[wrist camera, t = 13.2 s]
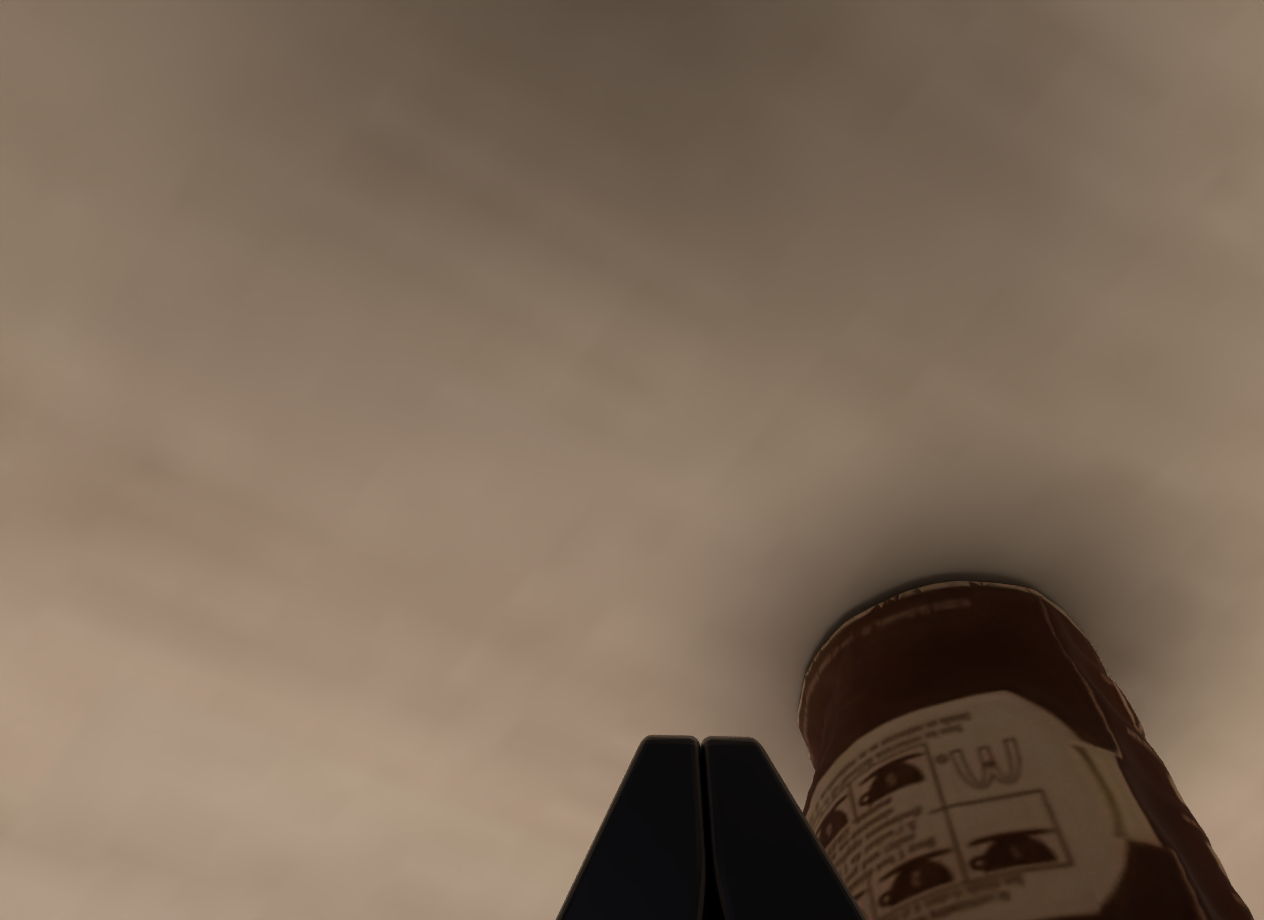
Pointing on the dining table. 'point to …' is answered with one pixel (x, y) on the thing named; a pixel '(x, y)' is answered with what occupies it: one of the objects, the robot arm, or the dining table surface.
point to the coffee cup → (994, 770)
